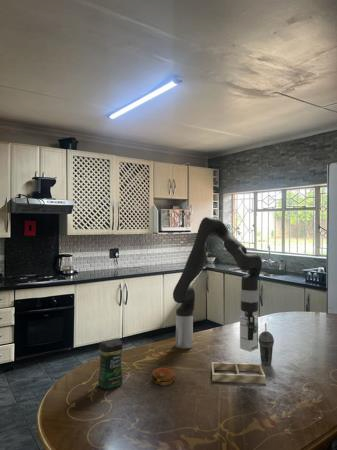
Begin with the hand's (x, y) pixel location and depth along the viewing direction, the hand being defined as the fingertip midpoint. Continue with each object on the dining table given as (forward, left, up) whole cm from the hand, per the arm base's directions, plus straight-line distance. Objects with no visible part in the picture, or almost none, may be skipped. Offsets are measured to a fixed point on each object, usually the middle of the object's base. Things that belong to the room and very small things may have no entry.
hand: (249, 336), depth 152 cm
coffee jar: (-58, -14, -17) cm, 62 cm away
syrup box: (0, 0, -5) cm, 5 cm away
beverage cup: (+10, +14, -17) cm, 24 cm away
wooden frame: (-5, 0, -17) cm, 18 cm away
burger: (-37, -8, -18) cm, 42 cm away
